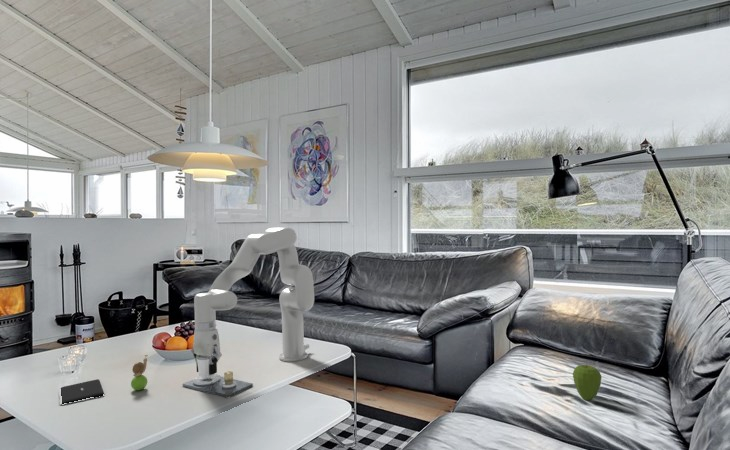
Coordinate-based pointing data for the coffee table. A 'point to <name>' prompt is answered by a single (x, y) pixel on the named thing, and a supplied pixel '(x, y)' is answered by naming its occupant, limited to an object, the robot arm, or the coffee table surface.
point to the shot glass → (203, 366)
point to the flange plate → (218, 384)
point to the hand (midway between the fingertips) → (206, 372)
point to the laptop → (81, 391)
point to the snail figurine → (139, 375)
